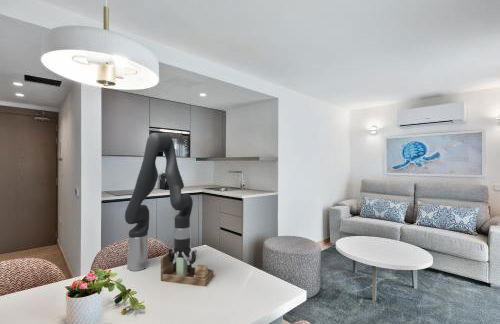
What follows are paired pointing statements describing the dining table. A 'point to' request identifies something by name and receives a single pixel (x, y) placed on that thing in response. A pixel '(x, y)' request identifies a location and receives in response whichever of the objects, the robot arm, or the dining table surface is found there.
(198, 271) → the offcut
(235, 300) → the dining table surface
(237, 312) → the dining table surface
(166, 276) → the rack
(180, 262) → the pale green block
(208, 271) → the offcut
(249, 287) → the dining table surface
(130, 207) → the robot arm
